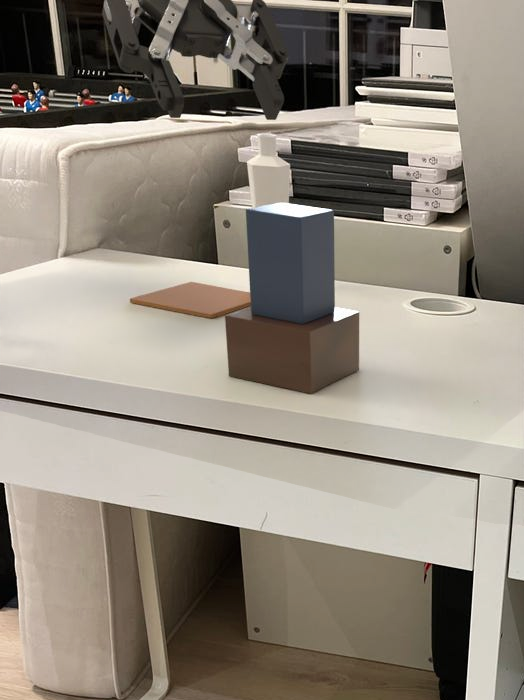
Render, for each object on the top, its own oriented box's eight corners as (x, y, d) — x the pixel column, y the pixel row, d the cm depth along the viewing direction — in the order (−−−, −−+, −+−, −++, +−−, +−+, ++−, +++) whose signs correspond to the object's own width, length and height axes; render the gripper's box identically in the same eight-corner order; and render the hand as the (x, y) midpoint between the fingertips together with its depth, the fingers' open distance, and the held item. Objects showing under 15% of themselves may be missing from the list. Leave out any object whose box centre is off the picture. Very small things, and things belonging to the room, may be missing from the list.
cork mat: (211, 318, 96) (211, 314, 96) (129, 302, 99) (129, 298, 99) (268, 299, 104) (268, 295, 104) (191, 285, 107) (191, 281, 107)
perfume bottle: (265, 288, 108) (258, 137, 100) (246, 280, 111) (237, 132, 103) (301, 285, 111) (297, 137, 103) (281, 276, 114) (276, 132, 106)
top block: (303, 324, 78) (300, 217, 74) (250, 314, 80) (245, 208, 76) (335, 312, 82) (334, 210, 78) (284, 302, 84) (281, 202, 79)
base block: (311, 394, 79) (309, 331, 77) (228, 376, 82) (224, 315, 79) (359, 370, 86) (359, 311, 83) (281, 354, 88) (279, 296, 85)
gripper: (80, -109, 75) (152, 74, 74) (250, -86, 83) (319, 81, 81) (68, -27, 81) (135, 144, 80) (228, -12, 89) (291, 144, 88)
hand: (228, 112), depth 81 cm, fingers open, 8 cm apart
